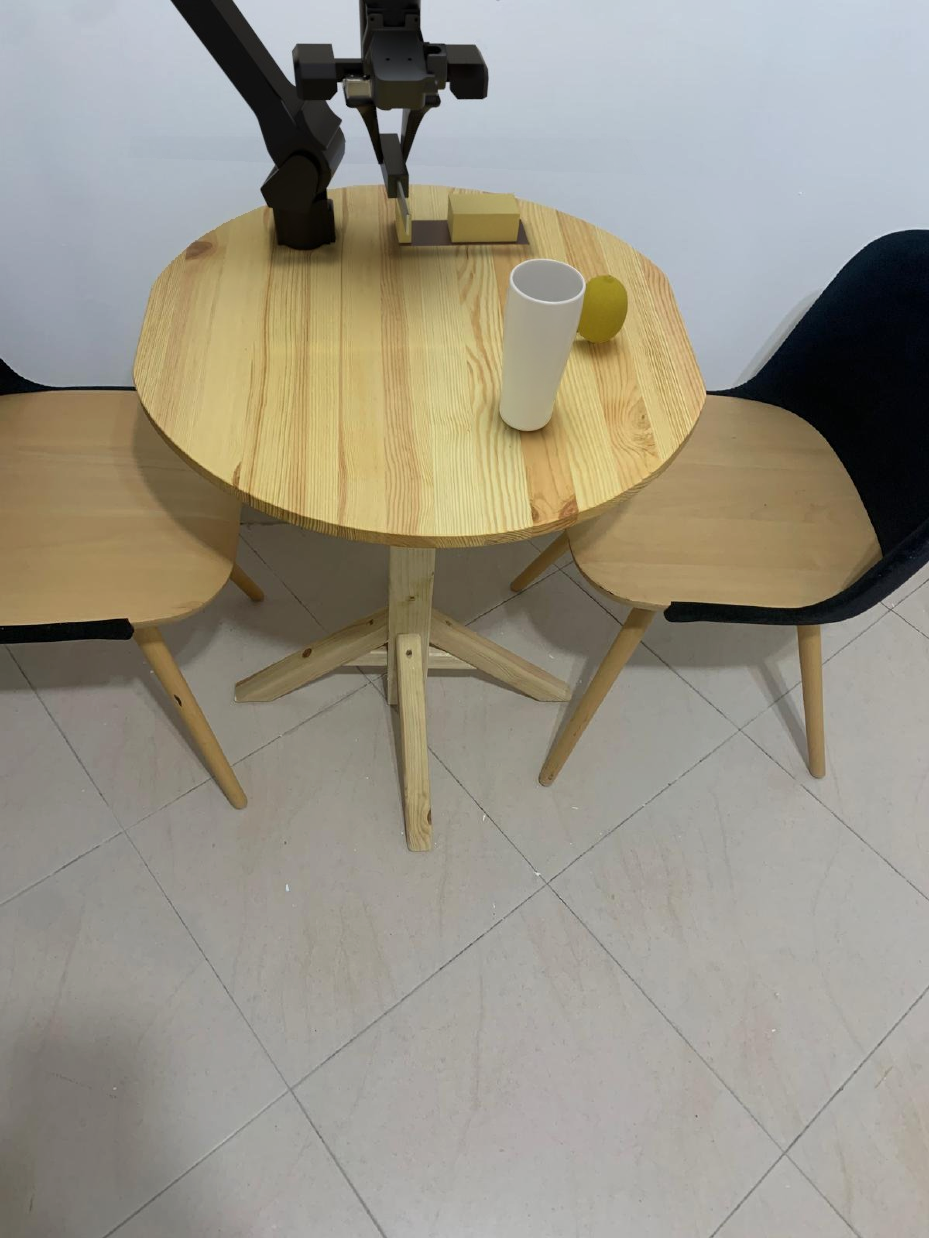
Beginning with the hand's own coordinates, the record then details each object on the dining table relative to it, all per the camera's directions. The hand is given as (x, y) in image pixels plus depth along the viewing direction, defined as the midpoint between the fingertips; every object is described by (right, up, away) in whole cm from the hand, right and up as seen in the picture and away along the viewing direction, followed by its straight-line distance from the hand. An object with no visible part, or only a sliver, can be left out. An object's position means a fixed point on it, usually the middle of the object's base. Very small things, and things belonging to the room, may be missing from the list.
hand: (391, 162), depth 83 cm
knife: (+1, -4, -2) cm, 5 cm away
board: (+7, -2, +12) cm, 15 cm away
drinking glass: (+14, -28, -4) cm, 32 cm away
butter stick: (+10, -1, +12) cm, 16 cm away
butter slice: (0, -2, +11) cm, 11 cm away
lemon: (+22, -18, +3) cm, 29 cm away
